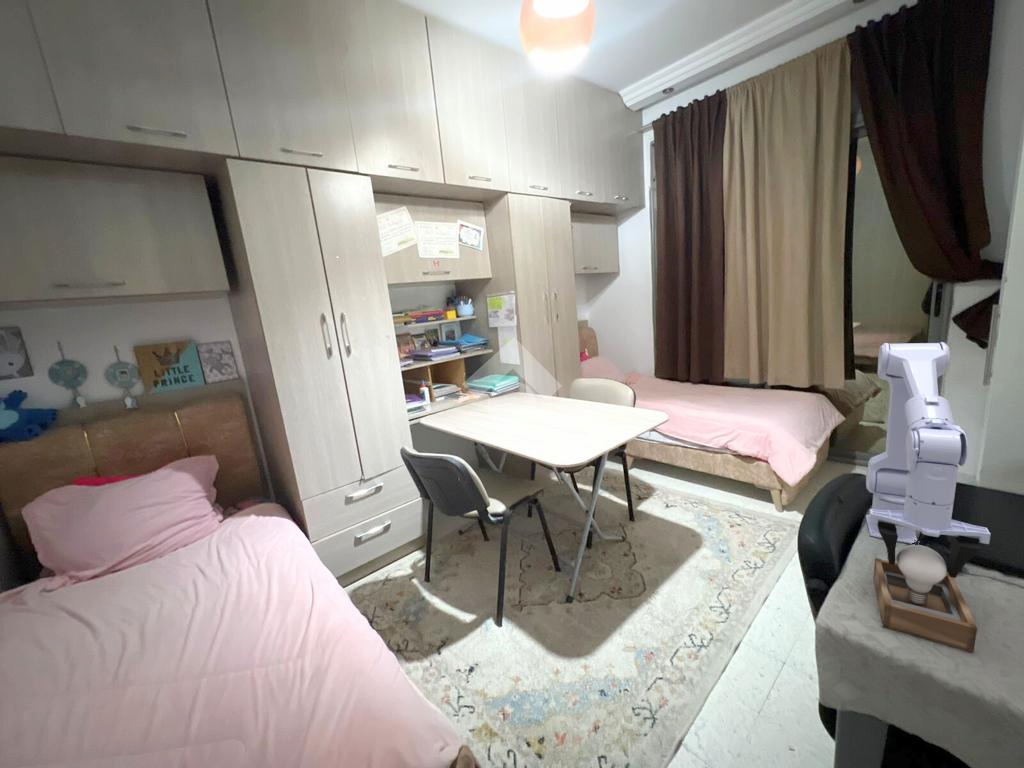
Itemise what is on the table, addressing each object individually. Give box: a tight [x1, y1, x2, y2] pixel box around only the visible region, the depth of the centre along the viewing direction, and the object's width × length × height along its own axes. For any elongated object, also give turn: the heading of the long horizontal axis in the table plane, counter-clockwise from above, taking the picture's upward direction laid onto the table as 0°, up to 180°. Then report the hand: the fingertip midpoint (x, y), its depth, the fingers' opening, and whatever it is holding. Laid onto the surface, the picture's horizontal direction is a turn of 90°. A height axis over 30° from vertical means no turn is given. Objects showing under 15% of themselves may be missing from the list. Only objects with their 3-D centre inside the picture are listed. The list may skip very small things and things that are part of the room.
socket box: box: [872, 557, 978, 654], centre depth 73 cm, size 14×11×4 cm
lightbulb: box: [895, 544, 948, 605], centre depth 73 cm, size 6×6×11 cm
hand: (920, 567), depth 73 cm, fingers open, 7 cm apart
